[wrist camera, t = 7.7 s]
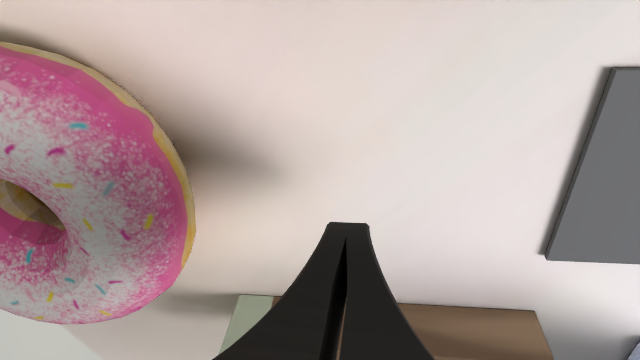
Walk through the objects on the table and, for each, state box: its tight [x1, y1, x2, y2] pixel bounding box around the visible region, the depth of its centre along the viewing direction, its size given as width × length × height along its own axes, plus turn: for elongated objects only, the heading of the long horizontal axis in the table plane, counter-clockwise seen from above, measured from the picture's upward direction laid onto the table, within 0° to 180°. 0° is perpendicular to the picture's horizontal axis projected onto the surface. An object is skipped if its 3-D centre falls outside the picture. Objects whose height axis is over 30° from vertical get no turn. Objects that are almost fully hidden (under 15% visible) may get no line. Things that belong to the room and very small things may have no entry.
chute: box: [219, 295, 554, 360], centre depth 15 cm, size 21×16×6 cm
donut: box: [0, 42, 196, 324], centre depth 17 cm, size 14×13×5 cm
